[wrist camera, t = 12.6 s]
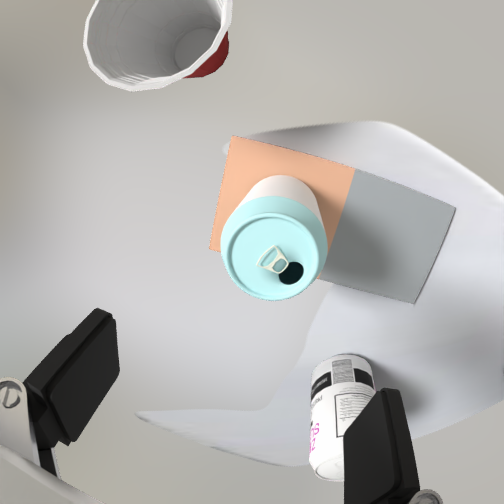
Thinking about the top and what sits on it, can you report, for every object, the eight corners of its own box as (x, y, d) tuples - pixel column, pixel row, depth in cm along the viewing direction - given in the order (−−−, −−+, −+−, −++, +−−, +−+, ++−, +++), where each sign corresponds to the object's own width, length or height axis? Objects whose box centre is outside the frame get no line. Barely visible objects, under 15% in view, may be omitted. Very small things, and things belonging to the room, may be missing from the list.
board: (453, 206, 26) (455, 207, 26) (412, 301, 31) (413, 304, 31) (233, 135, 27) (231, 135, 27) (210, 247, 32) (208, 249, 32)
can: (320, 176, 27) (335, 206, 16) (314, 246, 30) (322, 313, 19) (245, 172, 28) (211, 200, 17) (245, 241, 31) (216, 305, 20)
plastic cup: (213, 122, 27) (161, 120, 16) (135, 73, 26) (60, 58, 15) (279, 37, 23) (267, -17, 12) (193, -7, 22) (142, -58, 11)
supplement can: (378, 377, 37) (395, 469, 23) (326, 398, 39) (326, 488, 26) (358, 341, 34) (375, 442, 21) (300, 366, 37) (294, 465, 24)
